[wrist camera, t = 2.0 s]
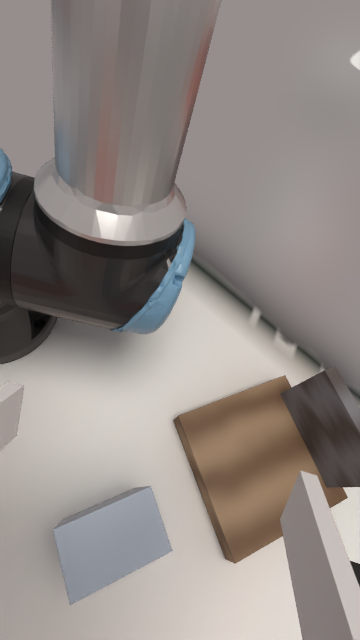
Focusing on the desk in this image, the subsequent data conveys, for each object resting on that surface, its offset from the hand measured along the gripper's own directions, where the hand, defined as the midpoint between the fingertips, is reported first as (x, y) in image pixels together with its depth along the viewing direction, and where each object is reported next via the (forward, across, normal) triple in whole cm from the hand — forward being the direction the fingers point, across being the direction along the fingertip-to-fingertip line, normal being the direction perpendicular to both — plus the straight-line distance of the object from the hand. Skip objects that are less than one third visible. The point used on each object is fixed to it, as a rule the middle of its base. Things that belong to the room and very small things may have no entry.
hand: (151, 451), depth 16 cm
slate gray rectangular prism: (+16, -3, -22) cm, 28 cm away
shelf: (+26, +12, -16) cm, 32 cm away
